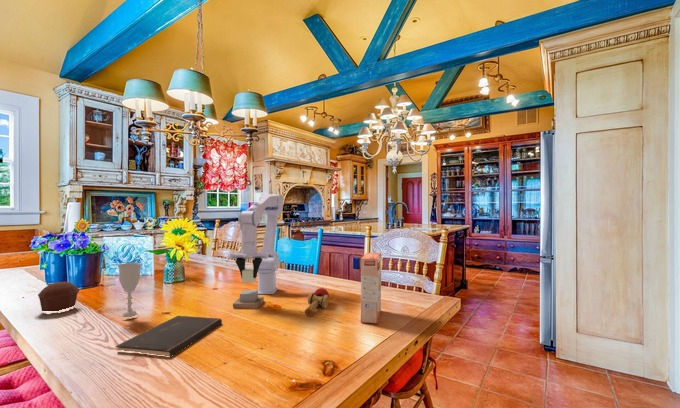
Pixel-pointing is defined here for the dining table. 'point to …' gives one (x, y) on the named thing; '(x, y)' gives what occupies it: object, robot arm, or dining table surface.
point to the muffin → (58, 296)
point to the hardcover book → (171, 335)
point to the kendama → (317, 301)
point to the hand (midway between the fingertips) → (249, 277)
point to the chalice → (129, 283)
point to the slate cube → (249, 296)
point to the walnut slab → (248, 303)
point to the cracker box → (370, 287)
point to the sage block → (247, 276)
